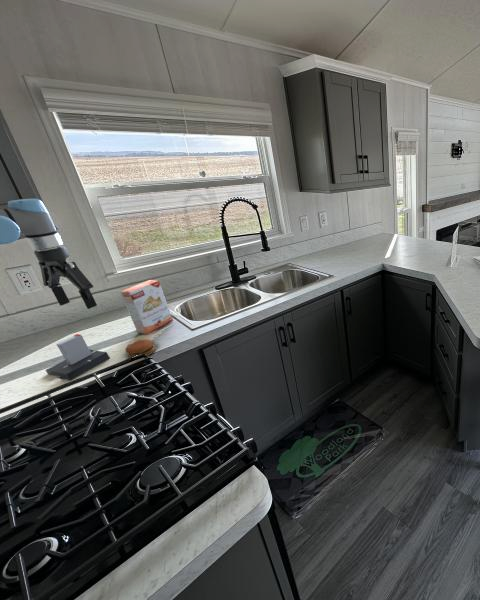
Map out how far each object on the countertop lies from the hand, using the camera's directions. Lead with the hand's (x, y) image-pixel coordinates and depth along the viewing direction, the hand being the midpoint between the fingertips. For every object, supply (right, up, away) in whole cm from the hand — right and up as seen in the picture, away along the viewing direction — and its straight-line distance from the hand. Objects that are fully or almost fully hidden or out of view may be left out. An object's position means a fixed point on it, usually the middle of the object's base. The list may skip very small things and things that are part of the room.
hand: (78, 305), depth 117 cm
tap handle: (-8, -21, +9) cm, 24 cm away
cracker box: (+1, -11, +37) cm, 38 cm away
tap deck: (-8, -24, +9) cm, 27 cm away
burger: (+10, -20, +17) cm, 28 cm away
